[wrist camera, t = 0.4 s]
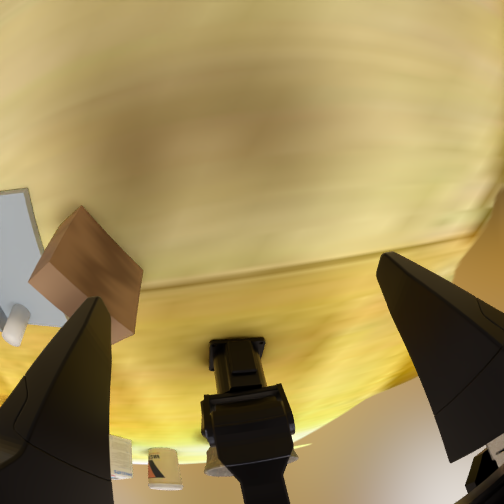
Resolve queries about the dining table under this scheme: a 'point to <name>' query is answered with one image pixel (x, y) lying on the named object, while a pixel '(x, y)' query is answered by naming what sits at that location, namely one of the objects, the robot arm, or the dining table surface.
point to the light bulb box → (120, 457)
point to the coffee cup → (164, 469)
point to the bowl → (218, 469)
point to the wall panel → (21, 269)
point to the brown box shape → (89, 273)
